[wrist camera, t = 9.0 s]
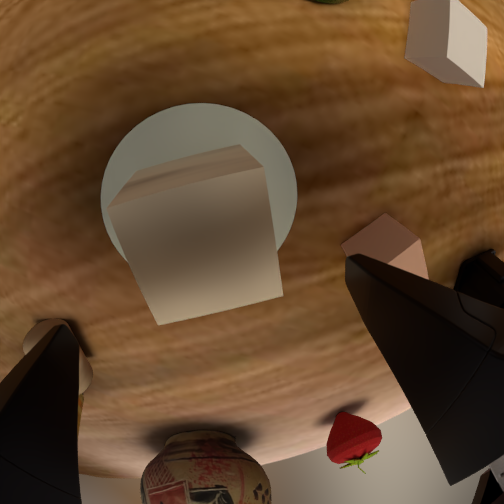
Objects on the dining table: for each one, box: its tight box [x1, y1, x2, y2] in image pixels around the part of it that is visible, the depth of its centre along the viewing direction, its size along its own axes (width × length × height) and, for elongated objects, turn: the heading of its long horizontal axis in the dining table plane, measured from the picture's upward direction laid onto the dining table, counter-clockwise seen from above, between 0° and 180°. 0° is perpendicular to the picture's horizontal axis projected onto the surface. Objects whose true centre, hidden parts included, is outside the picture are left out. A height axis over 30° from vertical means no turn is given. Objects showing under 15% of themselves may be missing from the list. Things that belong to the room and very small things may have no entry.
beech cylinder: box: [23, 319, 93, 395], centre depth 17 cm, size 4×4×4 cm
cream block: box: [405, 0, 487, 88], centre depth 10 cm, size 5×4×4 cm
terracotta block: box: [341, 213, 429, 279], centre depth 18 cm, size 4×4×4 cm
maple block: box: [106, 144, 283, 325], centre depth 13 cm, size 6×6×6 cm
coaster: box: [101, 103, 297, 262], centre depth 15 cm, size 11×11×1 cm
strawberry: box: [327, 412, 382, 473], centre depth 28 cm, size 6×8×10 cm
